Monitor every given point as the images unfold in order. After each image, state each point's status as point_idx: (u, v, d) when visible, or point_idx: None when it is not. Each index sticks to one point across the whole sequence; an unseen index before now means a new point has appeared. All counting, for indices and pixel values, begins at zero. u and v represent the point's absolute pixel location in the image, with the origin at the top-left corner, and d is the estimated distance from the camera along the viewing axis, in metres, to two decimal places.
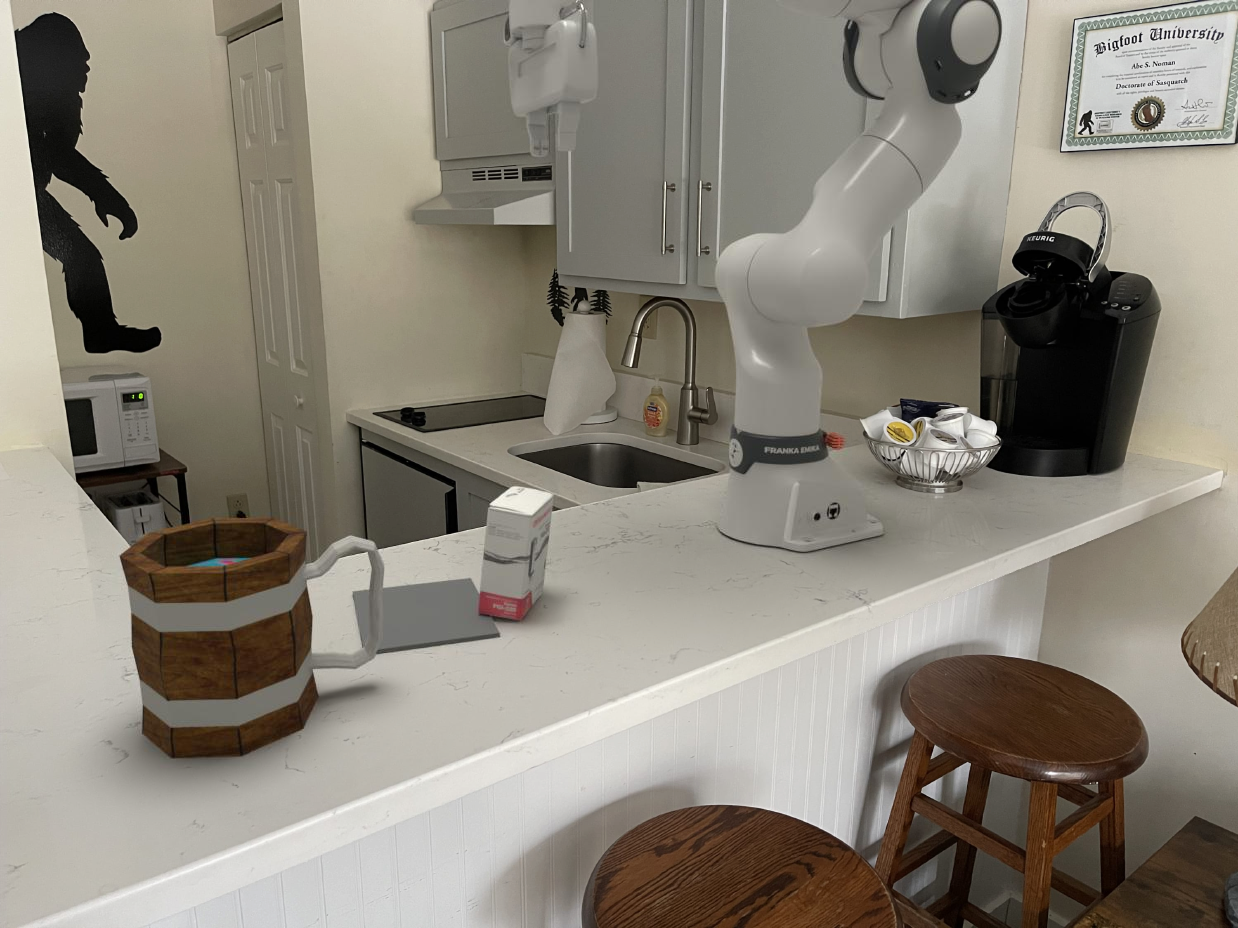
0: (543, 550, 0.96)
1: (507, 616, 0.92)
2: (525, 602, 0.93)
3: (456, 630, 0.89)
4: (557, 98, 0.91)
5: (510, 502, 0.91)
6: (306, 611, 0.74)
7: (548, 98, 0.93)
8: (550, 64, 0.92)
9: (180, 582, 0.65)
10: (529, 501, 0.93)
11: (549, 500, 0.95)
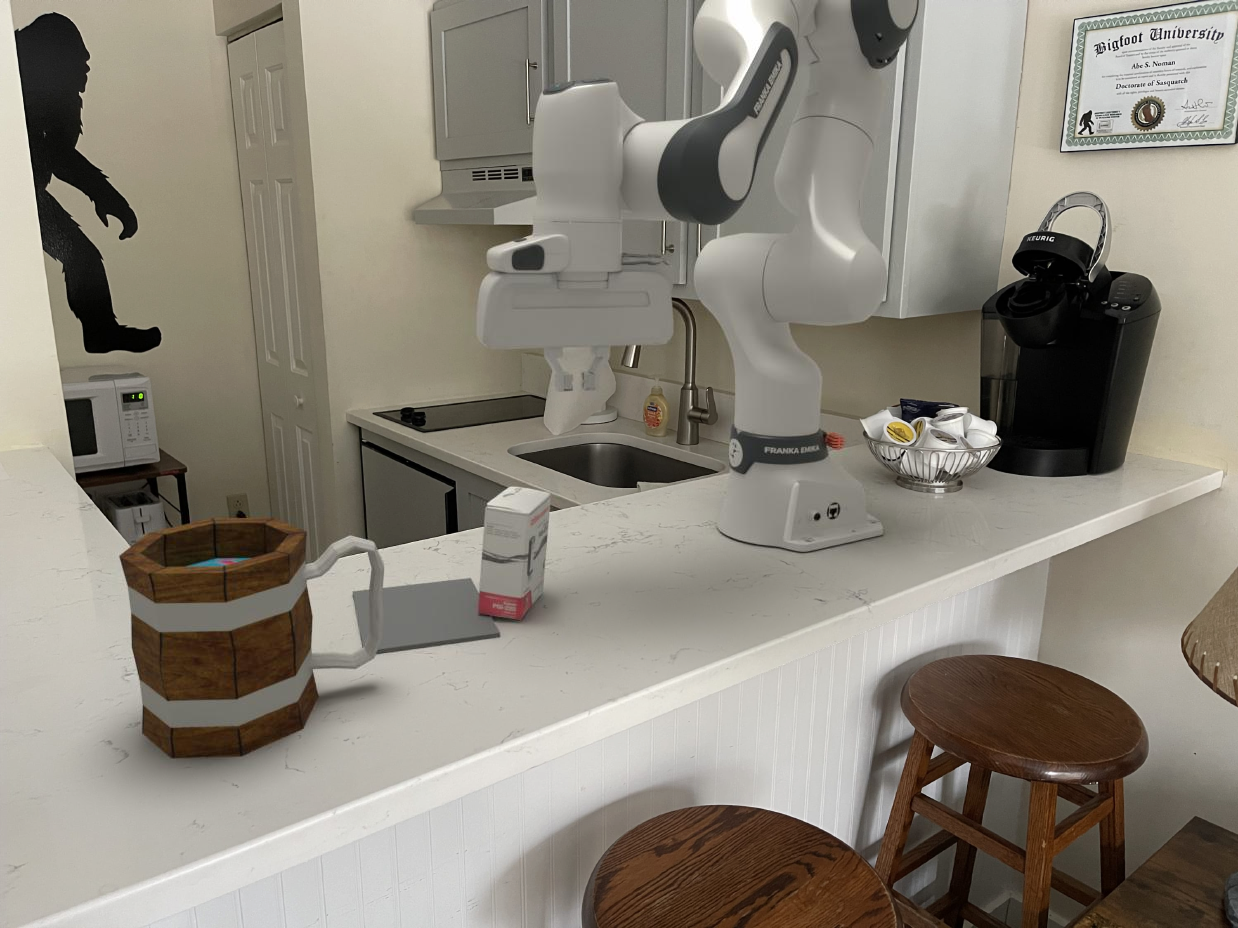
0: (542, 549, 0.96)
1: (507, 616, 0.92)
2: (525, 601, 0.93)
3: (456, 630, 0.89)
4: (648, 343, 0.92)
5: (507, 501, 0.92)
6: (306, 611, 0.74)
7: (623, 341, 0.91)
8: (630, 309, 0.91)
9: (180, 582, 0.65)
10: (526, 500, 0.93)
11: (546, 499, 0.95)
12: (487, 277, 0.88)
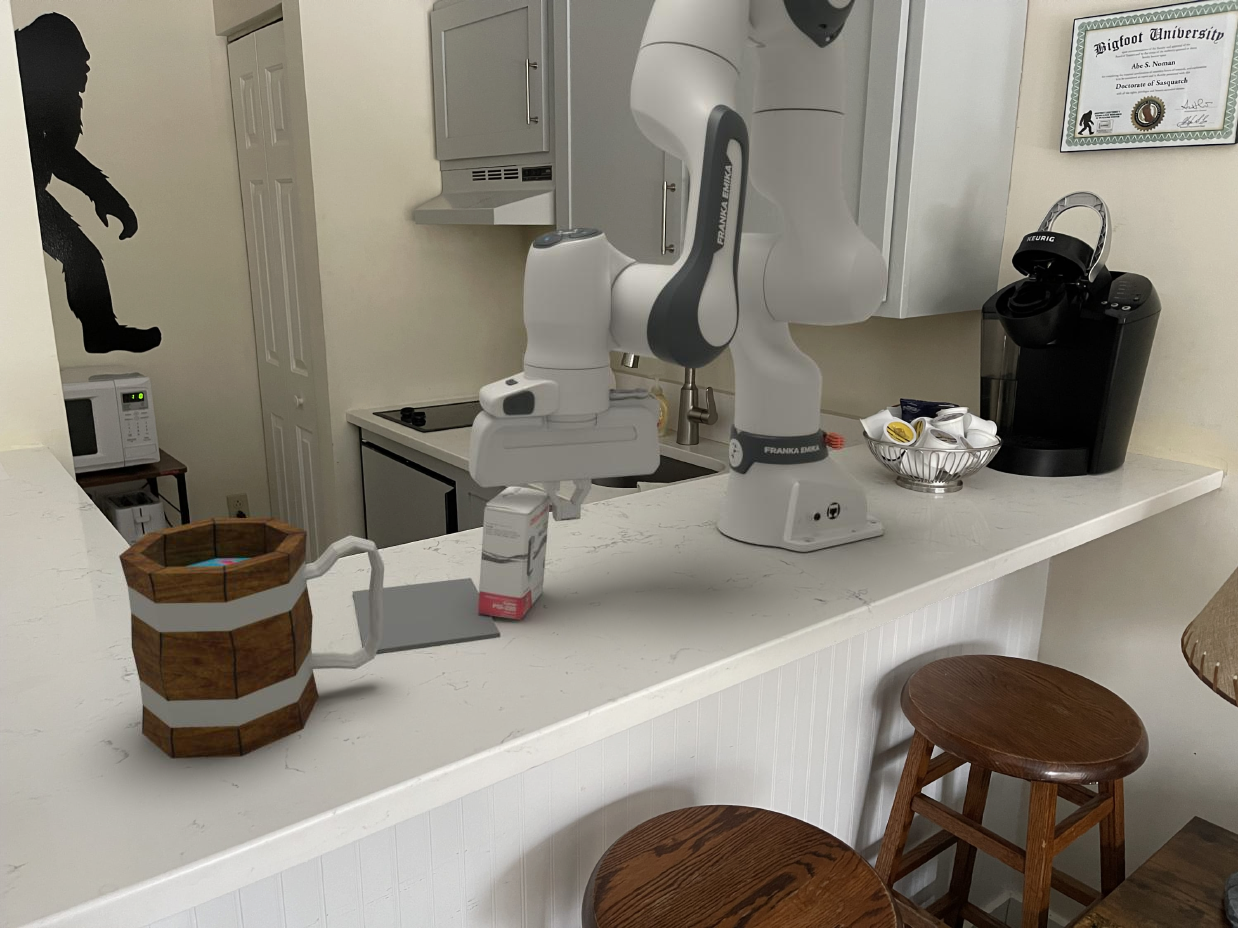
0: (541, 549, 0.96)
1: (507, 615, 0.92)
2: (525, 601, 0.93)
3: (456, 630, 0.89)
4: (635, 474, 0.96)
5: (506, 501, 0.92)
6: (306, 611, 0.74)
7: (611, 473, 0.94)
8: (617, 443, 0.94)
9: (180, 582, 0.65)
10: (525, 500, 0.93)
11: (546, 499, 0.95)
12: (479, 416, 0.91)
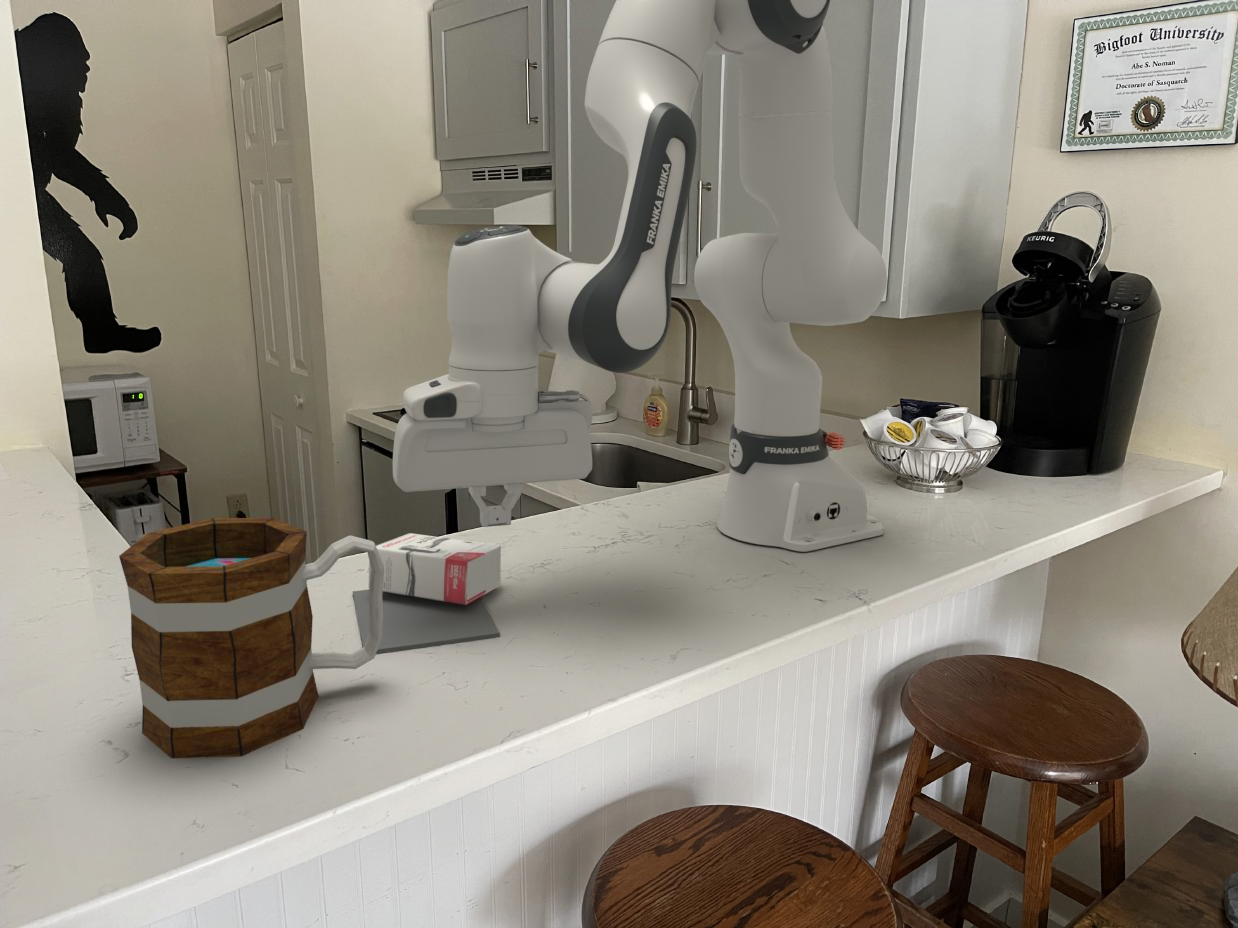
0: (444, 542, 0.99)
1: (463, 574, 0.92)
2: (457, 556, 0.94)
3: (456, 630, 0.89)
4: (566, 478, 0.93)
5: None
6: (306, 611, 0.74)
7: (540, 478, 0.92)
8: (547, 447, 0.91)
9: (180, 582, 0.65)
10: None
11: (403, 536, 1.01)
12: (402, 419, 0.88)
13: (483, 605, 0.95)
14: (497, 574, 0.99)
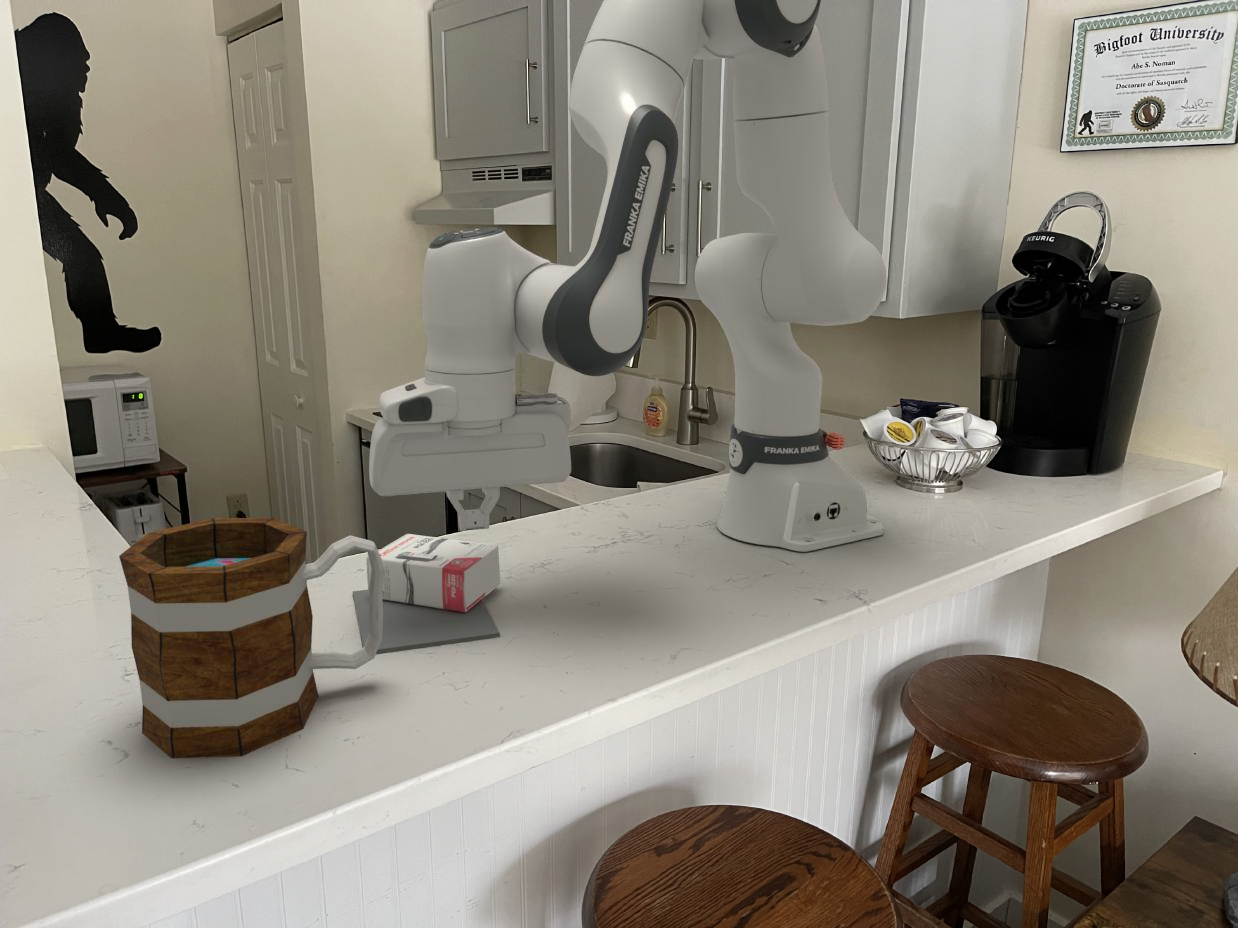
0: (441, 544, 0.99)
1: (461, 583, 0.92)
2: (453, 564, 0.93)
3: (456, 630, 0.89)
4: (545, 482, 0.92)
5: None
6: (306, 611, 0.74)
7: (518, 481, 0.91)
8: (524, 450, 0.91)
9: (180, 582, 0.65)
10: None
11: (400, 538, 1.01)
12: (378, 423, 0.88)
13: (483, 605, 0.95)
14: (496, 574, 0.99)
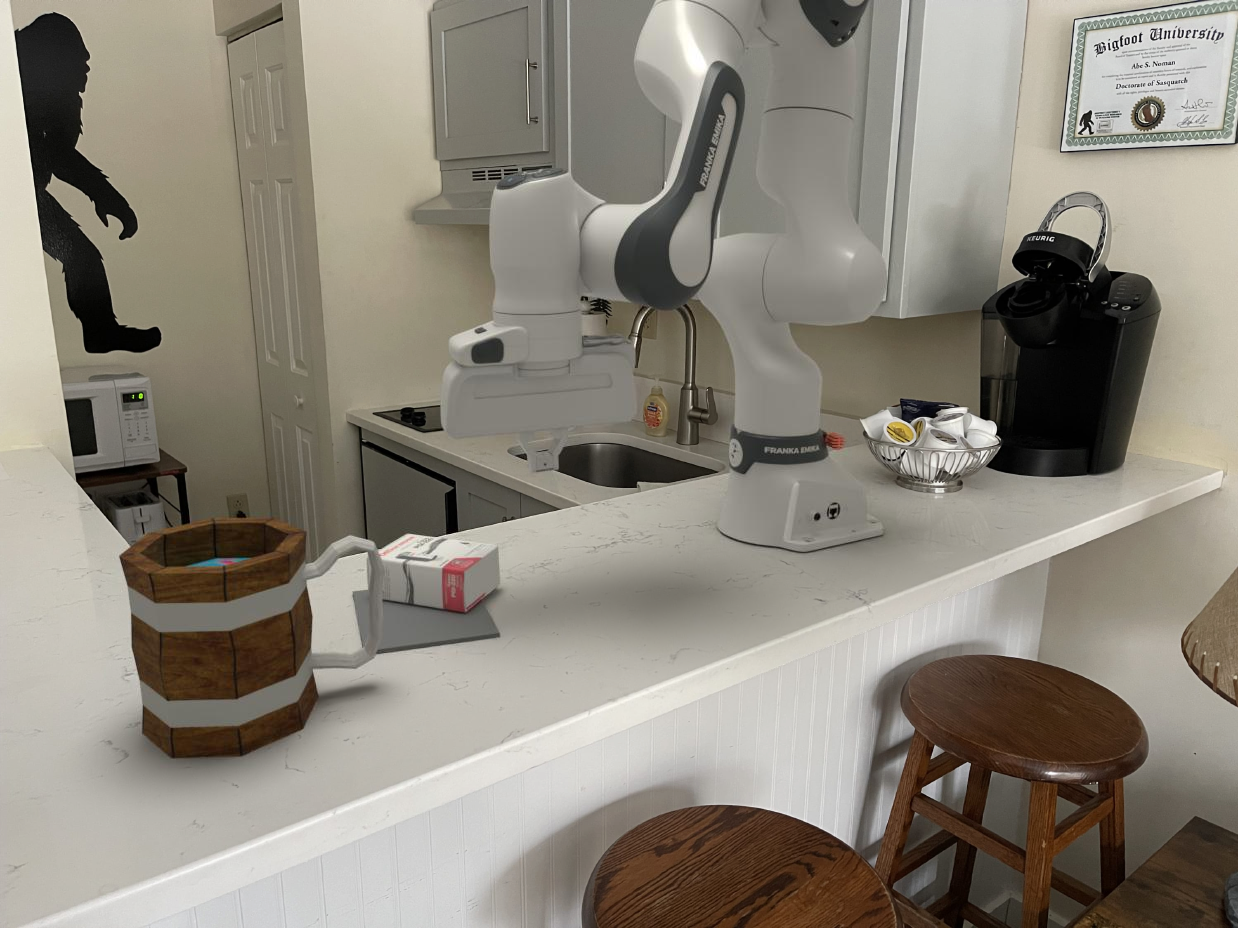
0: (441, 544, 0.99)
1: (461, 583, 0.92)
2: (453, 564, 0.93)
3: (456, 630, 0.89)
4: (612, 422, 0.93)
5: None
6: (306, 611, 0.74)
7: (586, 422, 0.92)
8: (592, 391, 0.92)
9: (180, 582, 0.65)
10: None
11: (400, 538, 1.01)
12: (449, 367, 0.89)
13: (483, 605, 0.95)
14: (496, 574, 0.99)
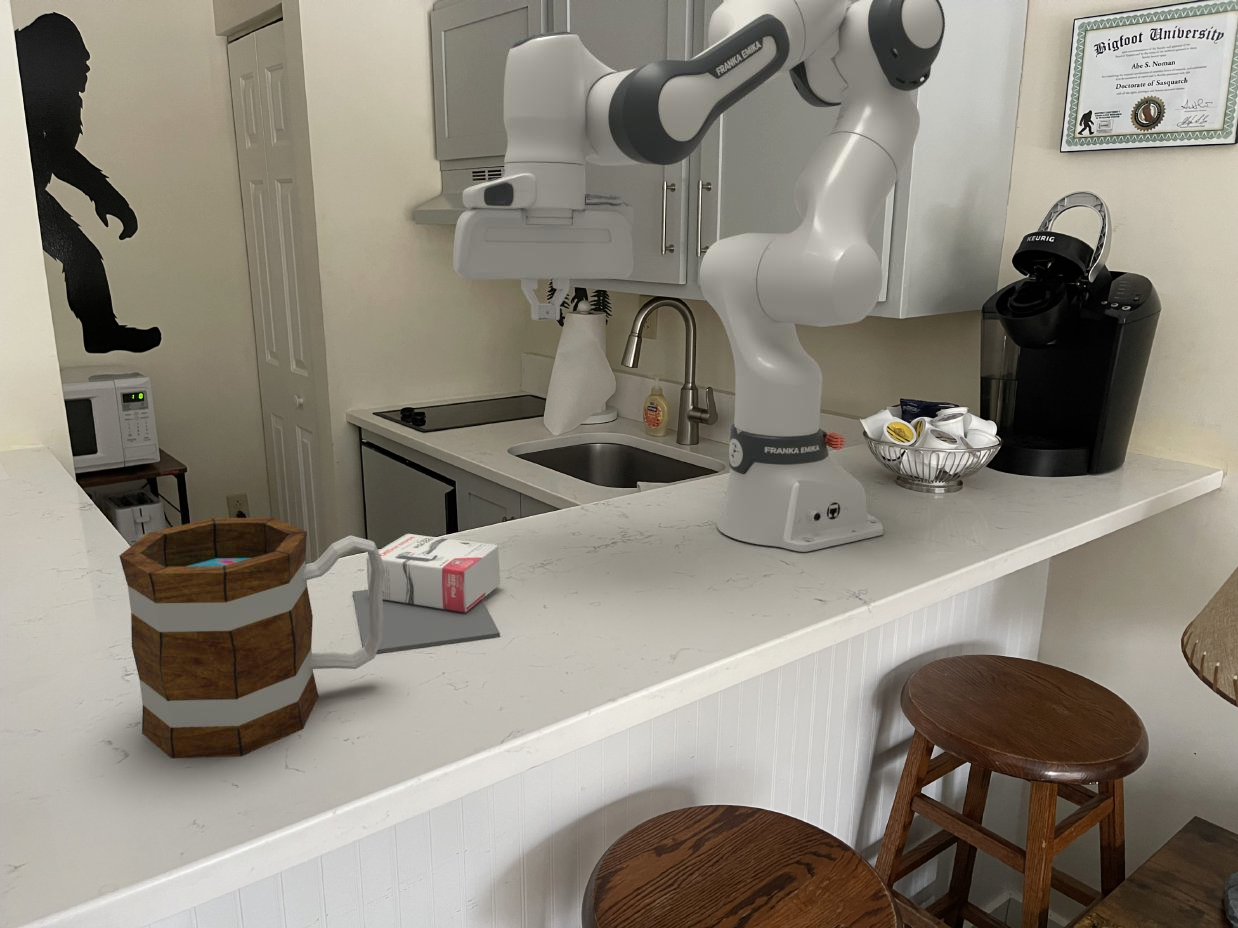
0: (441, 544, 0.99)
1: (461, 583, 0.92)
2: (453, 564, 0.93)
3: (456, 630, 0.89)
4: (610, 277, 1.02)
5: None
6: (306, 611, 0.74)
7: (587, 274, 1.01)
8: (593, 245, 1.00)
9: (180, 582, 0.65)
10: None
11: (400, 538, 1.01)
12: (463, 214, 0.97)
13: (483, 605, 0.95)
14: (496, 574, 0.99)
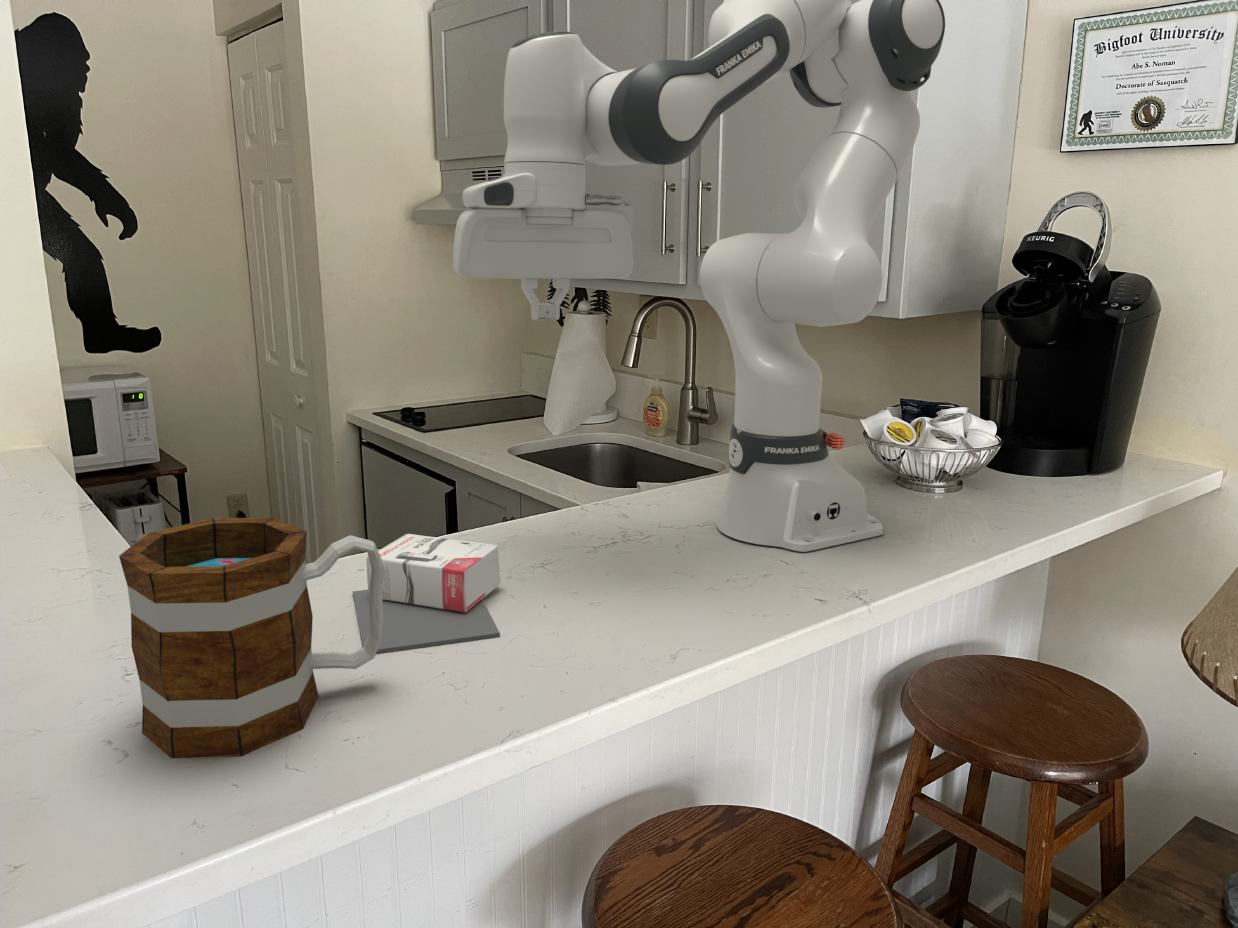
0: (441, 544, 0.99)
1: (461, 583, 0.92)
2: (453, 564, 0.93)
3: (456, 630, 0.89)
4: (610, 277, 1.02)
5: None
6: (306, 611, 0.74)
7: (586, 274, 1.01)
8: (593, 245, 1.00)
9: (180, 582, 0.65)
10: None
11: (400, 538, 1.01)
12: (463, 214, 0.97)
13: (483, 605, 0.95)
14: (496, 574, 0.99)
